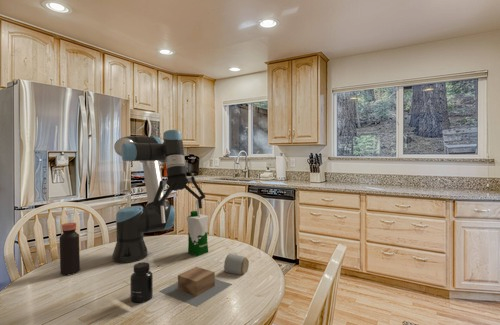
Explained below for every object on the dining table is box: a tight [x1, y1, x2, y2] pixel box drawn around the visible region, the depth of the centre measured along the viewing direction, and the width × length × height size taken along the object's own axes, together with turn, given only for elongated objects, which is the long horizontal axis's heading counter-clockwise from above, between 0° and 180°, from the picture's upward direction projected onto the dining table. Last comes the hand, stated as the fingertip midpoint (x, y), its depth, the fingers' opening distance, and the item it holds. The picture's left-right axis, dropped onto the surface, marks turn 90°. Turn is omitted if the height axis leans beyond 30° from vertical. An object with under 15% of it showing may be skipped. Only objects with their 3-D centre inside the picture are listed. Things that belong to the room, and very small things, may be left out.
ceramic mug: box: [223, 253, 249, 276], centre depth 115 cm, size 11×8×8 cm
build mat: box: [158, 278, 233, 307], centre depth 100 cm, size 18×18×1 cm
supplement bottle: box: [129, 261, 154, 304], centre depth 93 cm, size 7×7×12 cm
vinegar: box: [59, 222, 81, 276], centre depth 116 cm, size 7×7×20 cm
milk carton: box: [186, 210, 210, 257], centre depth 138 cm, size 9×9×20 cm
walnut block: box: [177, 266, 216, 296], centre depth 100 cm, size 9×9×5 cm
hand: (181, 220), depth 110 cm, fingers open, 13 cm apart
